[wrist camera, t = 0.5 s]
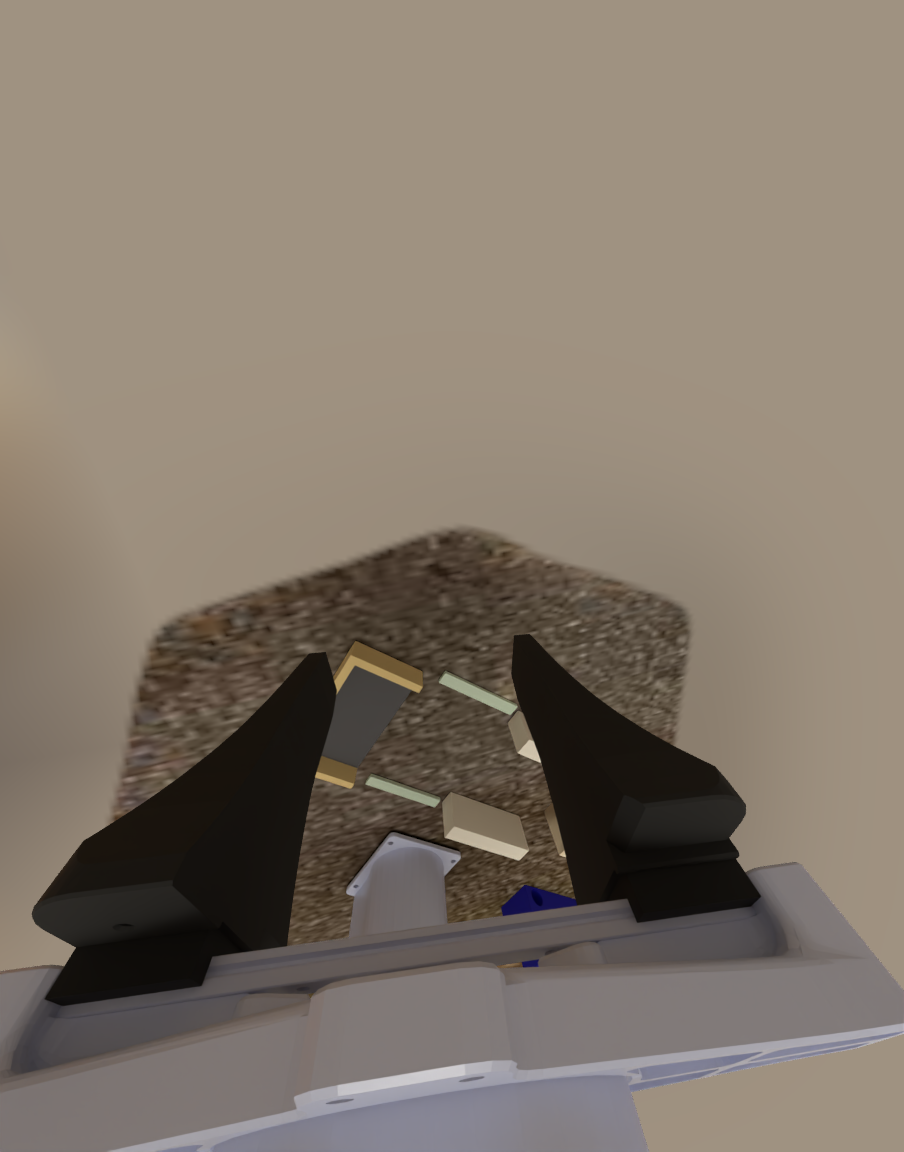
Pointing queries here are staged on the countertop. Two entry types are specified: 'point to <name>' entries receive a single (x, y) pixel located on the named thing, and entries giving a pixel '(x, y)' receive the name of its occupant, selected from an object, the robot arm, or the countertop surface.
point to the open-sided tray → (363, 709)
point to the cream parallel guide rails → (490, 810)
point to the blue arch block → (535, 906)
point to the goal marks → (468, 690)
